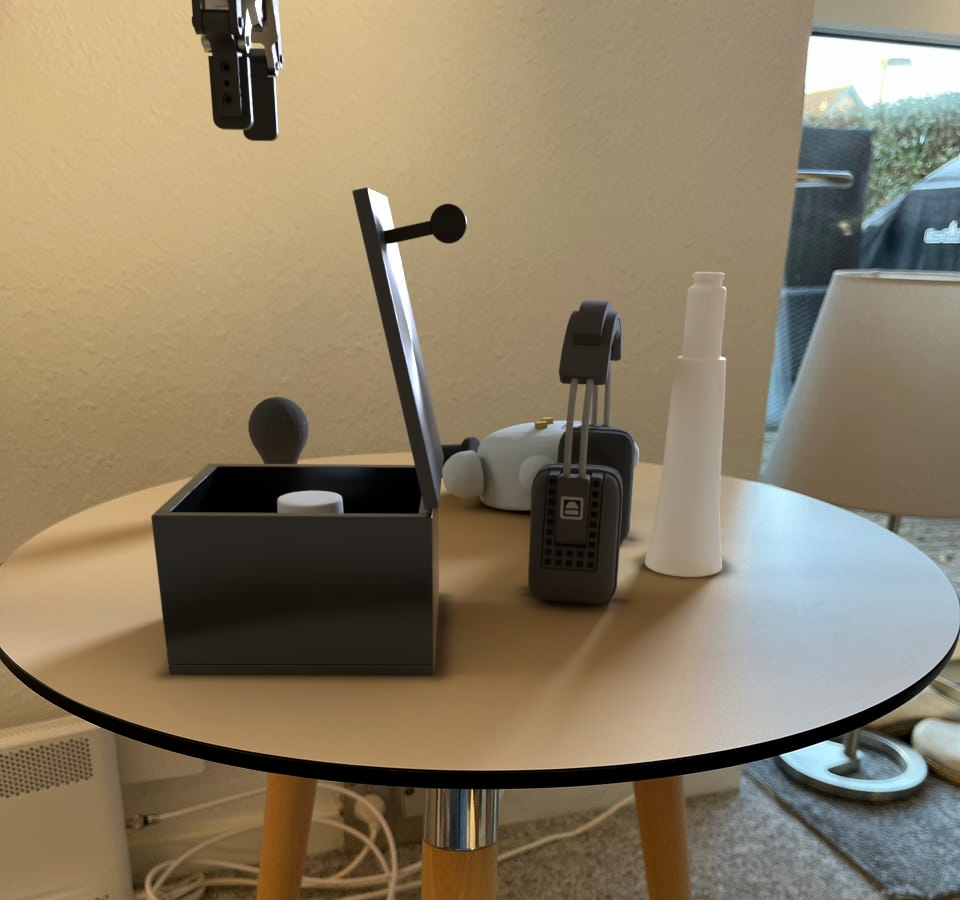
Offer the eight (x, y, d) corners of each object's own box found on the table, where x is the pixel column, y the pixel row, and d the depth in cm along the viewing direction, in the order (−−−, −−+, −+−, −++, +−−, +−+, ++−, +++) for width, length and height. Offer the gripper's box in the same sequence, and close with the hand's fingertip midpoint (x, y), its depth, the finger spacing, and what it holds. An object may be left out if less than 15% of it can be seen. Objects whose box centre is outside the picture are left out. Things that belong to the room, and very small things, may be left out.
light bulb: (253, 510, 96) (245, 402, 92) (253, 495, 101) (246, 393, 97) (314, 507, 97) (308, 400, 93) (310, 493, 102) (305, 391, 98)
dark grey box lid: (351, 190, 50) (456, 167, 50) (374, 198, 63) (458, 179, 62) (425, 510, 56) (518, 491, 56) (432, 459, 69) (508, 443, 69)
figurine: (653, 486, 104) (473, 488, 111) (651, 402, 101) (465, 410, 108) (611, 529, 89) (405, 528, 96) (606, 431, 86) (394, 438, 93)
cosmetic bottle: (718, 582, 77) (749, 274, 69) (639, 573, 79) (660, 273, 71) (725, 559, 83) (754, 271, 74) (650, 552, 84) (671, 270, 76)
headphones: (612, 617, 70) (631, 313, 62) (521, 610, 71) (529, 310, 64) (631, 531, 90) (647, 293, 83) (560, 526, 91) (569, 291, 84)
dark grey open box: (169, 677, 60) (150, 515, 56) (220, 599, 73) (208, 463, 69) (433, 677, 60) (432, 517, 56) (439, 600, 73) (438, 464, 69)
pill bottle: (281, 611, 68) (273, 488, 65) (352, 609, 69) (347, 487, 65) (276, 637, 64) (267, 507, 61) (352, 635, 64) (346, 506, 61)
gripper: (192, -143, 64) (214, 143, 70) (120, -240, 51) (155, 123, 57) (312, -141, 64) (323, 145, 70) (271, -238, 51) (290, 125, 57)
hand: (248, 135), depth 63 cm, fingers open, 8 cm apart
